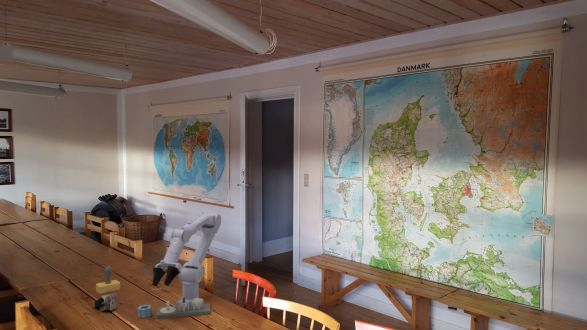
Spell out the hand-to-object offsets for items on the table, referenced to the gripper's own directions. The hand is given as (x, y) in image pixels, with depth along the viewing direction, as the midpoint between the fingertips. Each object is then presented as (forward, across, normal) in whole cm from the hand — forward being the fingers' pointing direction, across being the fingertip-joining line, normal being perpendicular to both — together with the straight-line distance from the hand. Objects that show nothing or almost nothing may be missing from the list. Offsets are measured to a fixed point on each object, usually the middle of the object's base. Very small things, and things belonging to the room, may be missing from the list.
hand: (160, 285), depth 174 cm
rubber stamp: (-2, -52, +9) cm, 52 cm away
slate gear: (+10, -12, +7) cm, 17 cm away
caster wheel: (+10, -32, 0) cm, 34 cm away
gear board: (+4, -2, +18) cm, 19 cm away
